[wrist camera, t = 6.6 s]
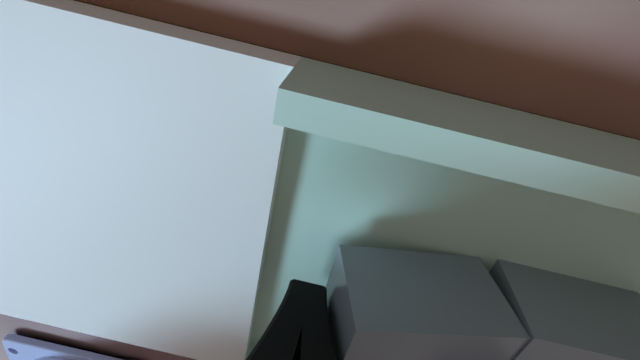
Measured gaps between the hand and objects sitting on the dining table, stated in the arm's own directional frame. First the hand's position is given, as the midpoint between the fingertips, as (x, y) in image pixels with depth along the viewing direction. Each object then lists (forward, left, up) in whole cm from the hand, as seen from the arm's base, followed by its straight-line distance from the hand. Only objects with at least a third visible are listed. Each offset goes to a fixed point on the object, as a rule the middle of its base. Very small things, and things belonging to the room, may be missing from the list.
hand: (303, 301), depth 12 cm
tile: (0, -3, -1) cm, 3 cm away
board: (0, +11, -2) cm, 11 cm away
